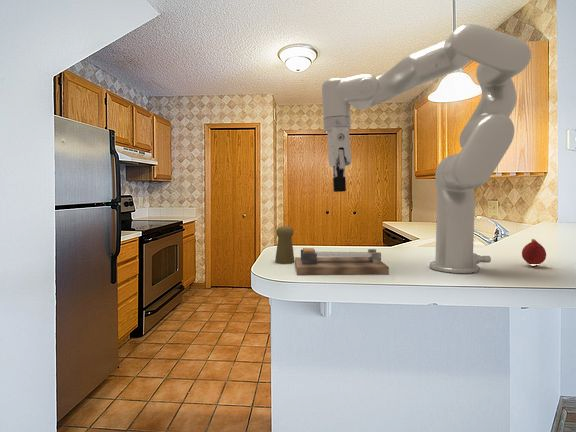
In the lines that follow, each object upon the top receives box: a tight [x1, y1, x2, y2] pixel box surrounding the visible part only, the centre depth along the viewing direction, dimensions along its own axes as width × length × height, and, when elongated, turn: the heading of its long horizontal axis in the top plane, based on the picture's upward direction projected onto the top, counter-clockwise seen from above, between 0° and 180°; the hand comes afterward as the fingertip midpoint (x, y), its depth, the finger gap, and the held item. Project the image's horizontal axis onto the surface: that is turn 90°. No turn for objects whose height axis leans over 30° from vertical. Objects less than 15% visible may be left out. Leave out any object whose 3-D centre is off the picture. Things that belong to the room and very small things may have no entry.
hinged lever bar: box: [302, 247, 373, 257], centre depth 103 cm, size 20×4×2 cm, turn 91°
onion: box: [521, 238, 547, 265], centre depth 105 cm, size 6×6×8 cm
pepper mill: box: [274, 225, 295, 265], centre depth 112 cm, size 6×6×11 cm
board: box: [294, 248, 390, 276], centre depth 103 cm, size 24×14×5 cm, turn 91°
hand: (339, 191), depth 103 cm, fingers closed
